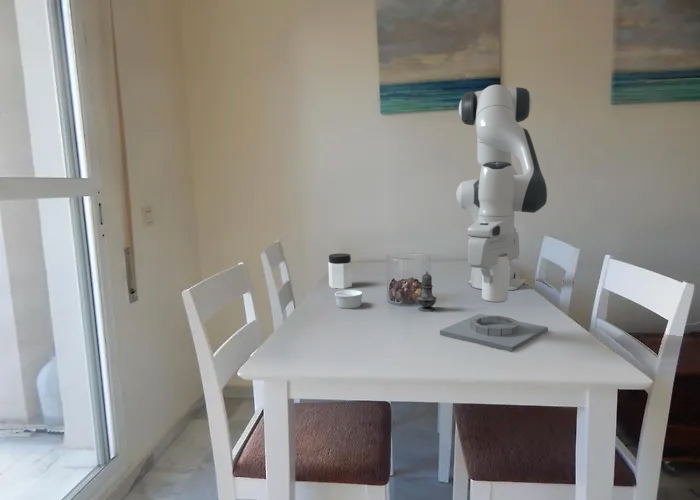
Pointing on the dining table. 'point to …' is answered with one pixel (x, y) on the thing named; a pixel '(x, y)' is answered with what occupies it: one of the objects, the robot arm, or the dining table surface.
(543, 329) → the board
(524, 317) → the dining table surface
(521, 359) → the dining table surface
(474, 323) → the collar
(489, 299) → the can
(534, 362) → the dining table surface
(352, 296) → the ramekin
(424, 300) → the salt shaker
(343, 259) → the jar
